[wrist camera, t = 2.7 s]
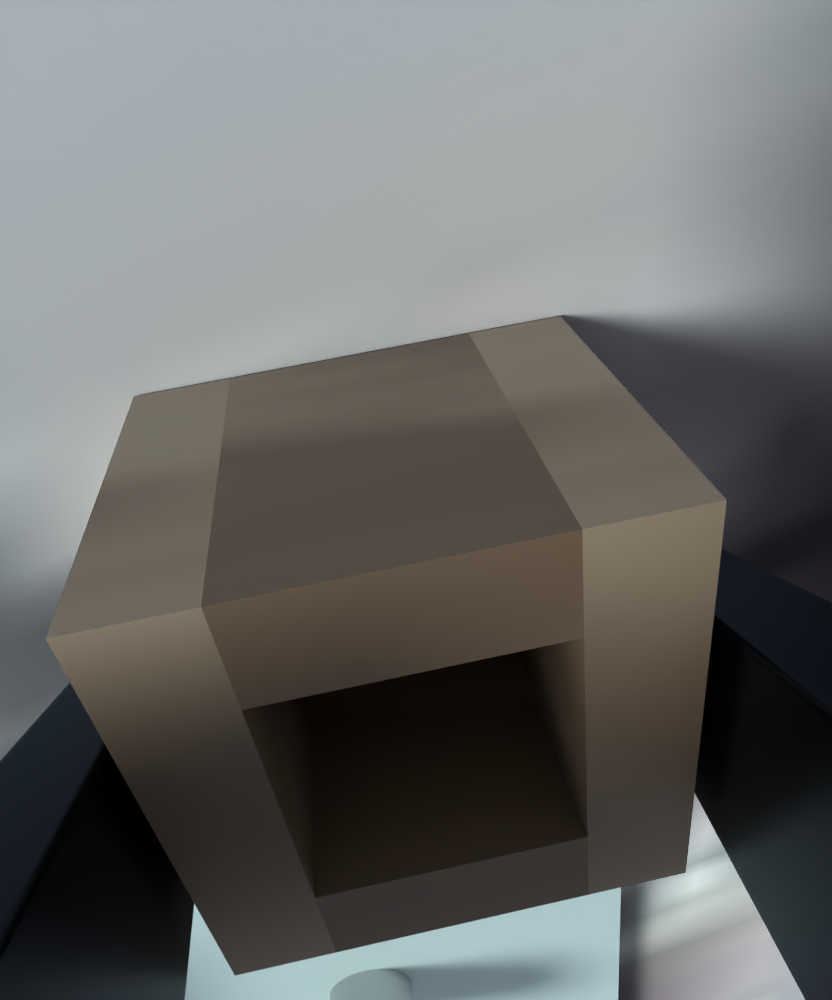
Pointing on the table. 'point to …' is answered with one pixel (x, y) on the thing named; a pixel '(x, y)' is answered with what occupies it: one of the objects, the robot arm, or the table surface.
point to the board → (442, 961)
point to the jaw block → (399, 637)
